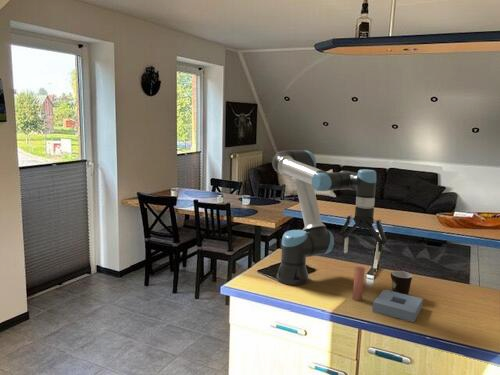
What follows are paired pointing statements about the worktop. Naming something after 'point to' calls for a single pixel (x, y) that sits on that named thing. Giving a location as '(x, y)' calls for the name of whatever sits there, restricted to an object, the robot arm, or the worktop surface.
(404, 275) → the coffee mug
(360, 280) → the peg
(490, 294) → the worktop surface
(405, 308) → the socket slab
